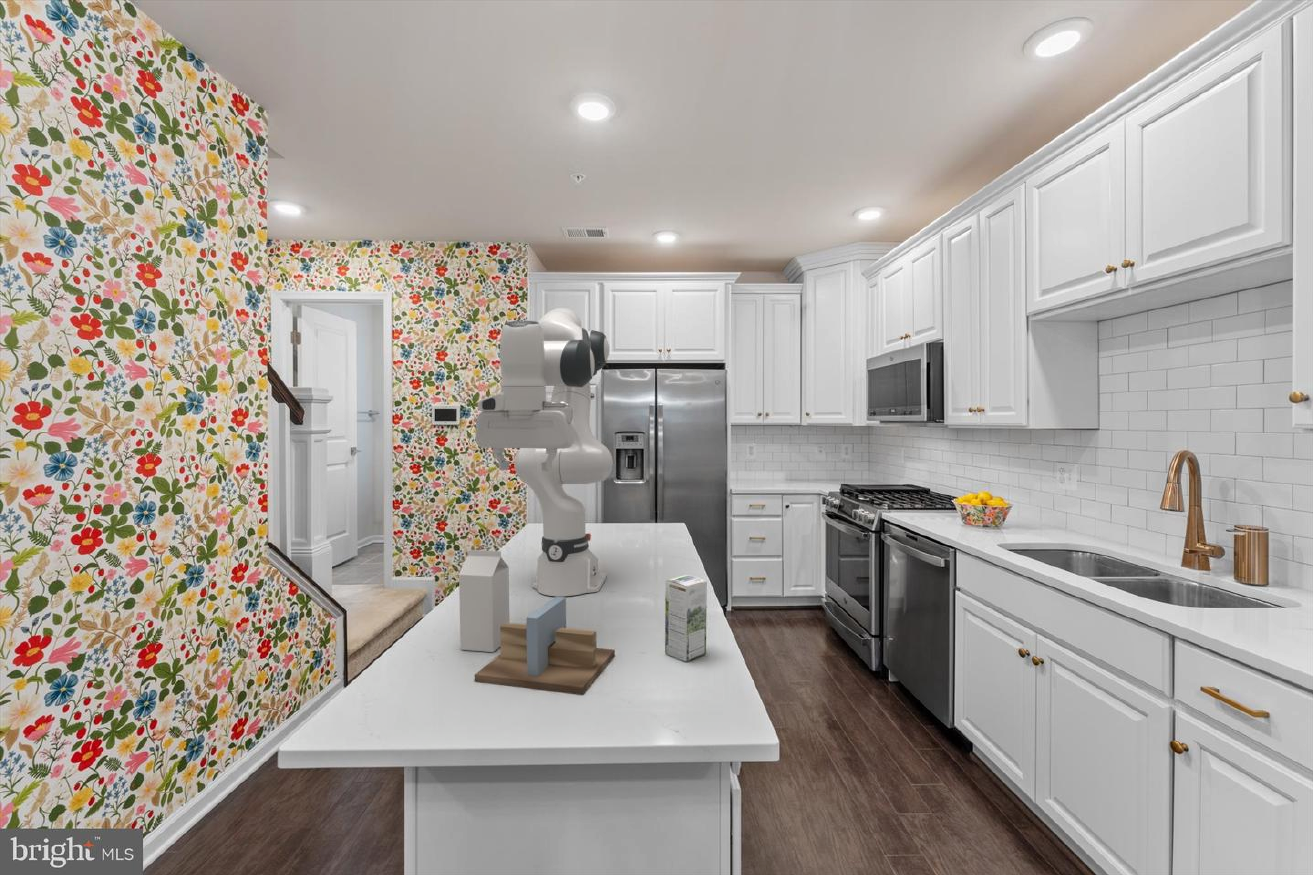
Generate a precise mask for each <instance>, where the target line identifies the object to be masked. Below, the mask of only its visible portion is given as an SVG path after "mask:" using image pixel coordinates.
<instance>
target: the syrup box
mask: <svg viewBox="0 0 1313 875" xmlns="http://www.w3.org/2000/svg"><path fill="white" fill-rule="evenodd" d="M707 586H708V581H707V580H705V579H703V578H700V577H698V576H694V575H691V574H690V575H689V574H685V575H681V576H677V577H673V578H669V579H667V580H665V591H664V592H665V594H664V595H665V599H664V602H665V605H664V606H665V609H664V610H665V613H664V615H665V616H664V619H665V620H664V624H665V625H664V626H665V627H664V630H665V633H664V638H665V639H664V641H665V644H664V653H665V655H668V656H670V657H672V658H675V659H678V660H681V661H683V662H686V663H688V662H689V661H692V660H695V659H697V658H699V657H701V656H704V655H705V654H706V653H707V615H708V614H707V610H708V609H707V608H708V606H707V604H708V603H707V598H708V597H707V596H708V595H707V592H708V590H707V588H708V587H707Z"/></svg>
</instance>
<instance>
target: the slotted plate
mask: <svg viewBox="0 0 1313 875" xmlns="http://www.w3.org/2000/svg"><path fill="white" fill-rule="evenodd" d="M525 620H526V623H525V625H527V675H532V676H539V675H540V674H541V673H542V672H543V671H544V670H545V669H546V668H547V667H548V647H549V646H550V645H551V644H552V643H555V644H556V636H555V632H556V631H557V630H558V629H559V628H567V596H554V597H553V598H552V599H550V600H549V601H547V602H546V603H545V604H544V605H542V606H540V607H538V609H536V610H535V611H533V612H532V613H530V614H529V615H528V616H526V619H525Z"/></svg>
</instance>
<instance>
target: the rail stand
mask: <svg viewBox="0 0 1313 875" xmlns="http://www.w3.org/2000/svg"><path fill="white" fill-rule="evenodd" d="M555 636H556V644H555V643H552V644H551V645H550V646H549V647H548V667H547V668H546V669H545V670H544V671H543V672H542V673H541V674H540V675H539V676H532V675H527V625H526V623H525V624H523V623H514V622H510V623H505V624H503V625H502V626H500V654H499V655H498V656H497V657H495V658H494V659H493V660H491V661H490V662H489V663H487V664H486V665H485V666H483V667H482V668H481V669H479V670H478V671H477V672H476V673H475V674H474V682H477V683H478V682H479V683H485V684H486V683H487V684H493V685H502V686H509V687H517V688H526V689H535V690H541V691H551V692H558V693H559V692H560V693H567V694H576V695H584V694H585V692H587V690H588V689H589V688H590V686H592V684H593V683H594V682H595V681H596V680H597V678H598V677H599V676H600V675H601V673H602V672H603V671H604V670H605V668H606V667H607V666H608V665H609V664H610V663H611V661H612V660H613V659H614V657H615V656H616V651H615V649H612V648H610V649H609V648H602V647H597V630H590V629H588V630H587V629H578V628H567V627H566V628H559V629H558V630H557V631H556V632H555ZM608 663H609V664H608Z"/></svg>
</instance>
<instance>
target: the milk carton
mask: <svg viewBox="0 0 1313 875" xmlns="http://www.w3.org/2000/svg"><path fill="white" fill-rule="evenodd" d="M509 570H510V566H509V565H508V564H507V563H506V561H505V560H504V559H503V557H502V551H501V550H499V551H497V550H478V549H477V550H475V549H468V550H467V556H466V559H465V561H464V562H463V565H462V566H461V569H460V572H459V573H458V580H459V581H458V584H459V585H458V586H459V587H458V588H459V591H458V592H459V593H458V594H459V596H458V597H459V598H458V599H459V642H460V643H459V644H460V646H459V647H460V648H459V650H462V651H471V652H472V651H473V652H474V651H476V652H487V653H488V652H489V653H494V652H495V651H497V650H498V649H499V648H501V646H500V626H502V625H503V624H505V623H511V622H510V572H509Z"/></svg>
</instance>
